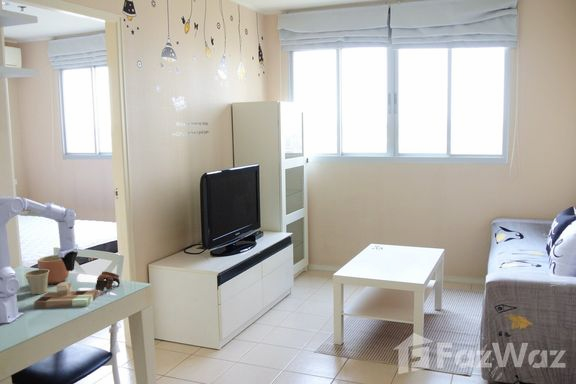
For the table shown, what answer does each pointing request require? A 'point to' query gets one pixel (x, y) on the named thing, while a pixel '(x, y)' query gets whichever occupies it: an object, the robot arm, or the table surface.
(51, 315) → the table surface
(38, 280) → the flower pot
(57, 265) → the planter
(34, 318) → the table surface
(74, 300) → the board
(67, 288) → the birch block
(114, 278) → the pottery mug
